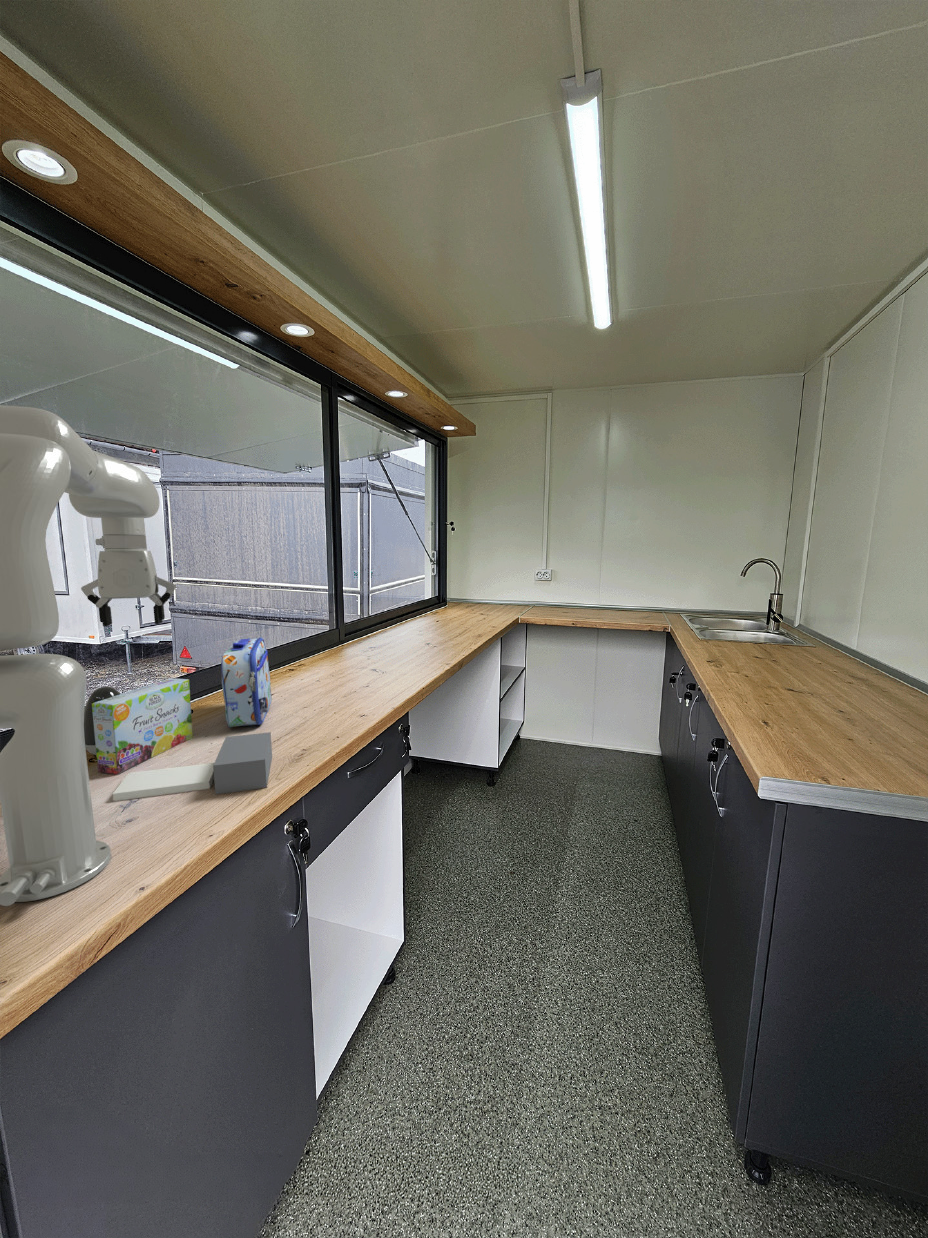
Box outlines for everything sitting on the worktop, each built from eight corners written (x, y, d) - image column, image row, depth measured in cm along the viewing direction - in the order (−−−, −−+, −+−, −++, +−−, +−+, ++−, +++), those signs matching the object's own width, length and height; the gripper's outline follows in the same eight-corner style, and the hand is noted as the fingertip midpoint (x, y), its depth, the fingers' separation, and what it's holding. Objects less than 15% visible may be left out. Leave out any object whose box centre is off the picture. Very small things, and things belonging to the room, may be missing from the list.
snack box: (120, 775, 102) (112, 704, 100) (97, 773, 103) (88, 703, 101) (195, 737, 123) (189, 677, 121) (175, 736, 124) (169, 676, 122)
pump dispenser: (73, 764, 108) (65, 695, 106) (94, 746, 118) (87, 683, 116) (128, 758, 111) (121, 691, 108) (143, 741, 120) (137, 679, 118)
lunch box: (267, 732, 126) (262, 646, 123) (222, 737, 123) (215, 649, 120) (273, 701, 152) (269, 629, 149) (236, 704, 149) (231, 631, 146)
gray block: (266, 787, 96) (265, 759, 96) (215, 794, 94) (213, 765, 93) (272, 757, 111) (270, 732, 110) (227, 762, 108) (225, 737, 107)
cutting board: (210, 791, 96) (209, 781, 96) (113, 804, 92) (112, 793, 91) (217, 771, 105) (217, 762, 105) (130, 782, 100) (129, 772, 100)
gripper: (68, 544, 100) (78, 629, 102) (166, 544, 104) (174, 625, 107) (85, 544, 107) (93, 623, 109) (176, 544, 112) (182, 620, 114)
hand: (133, 624), depth 108 cm, fingers open, 9 cm apart
